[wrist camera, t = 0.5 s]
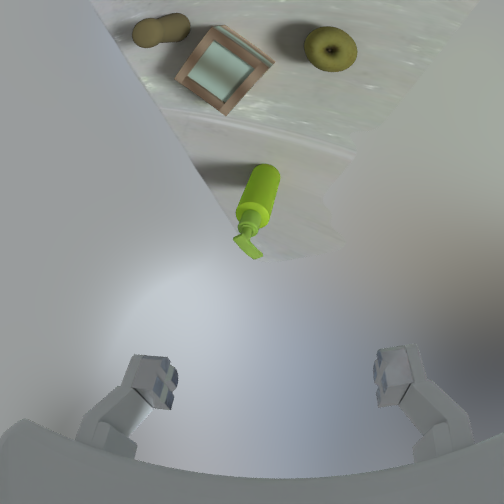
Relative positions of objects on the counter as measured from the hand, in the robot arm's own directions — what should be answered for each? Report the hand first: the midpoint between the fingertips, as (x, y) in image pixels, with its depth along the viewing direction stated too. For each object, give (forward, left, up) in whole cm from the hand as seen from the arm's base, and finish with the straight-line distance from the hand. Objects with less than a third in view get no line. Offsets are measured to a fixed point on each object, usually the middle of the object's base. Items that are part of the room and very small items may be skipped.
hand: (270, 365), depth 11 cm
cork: (+8, -25, -47) cm, 54 cm away
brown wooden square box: (+8, -12, -47) cm, 49 cm away
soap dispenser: (+22, +8, -47) cm, 53 cm away
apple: (-6, -2, -47) cm, 48 cm away
